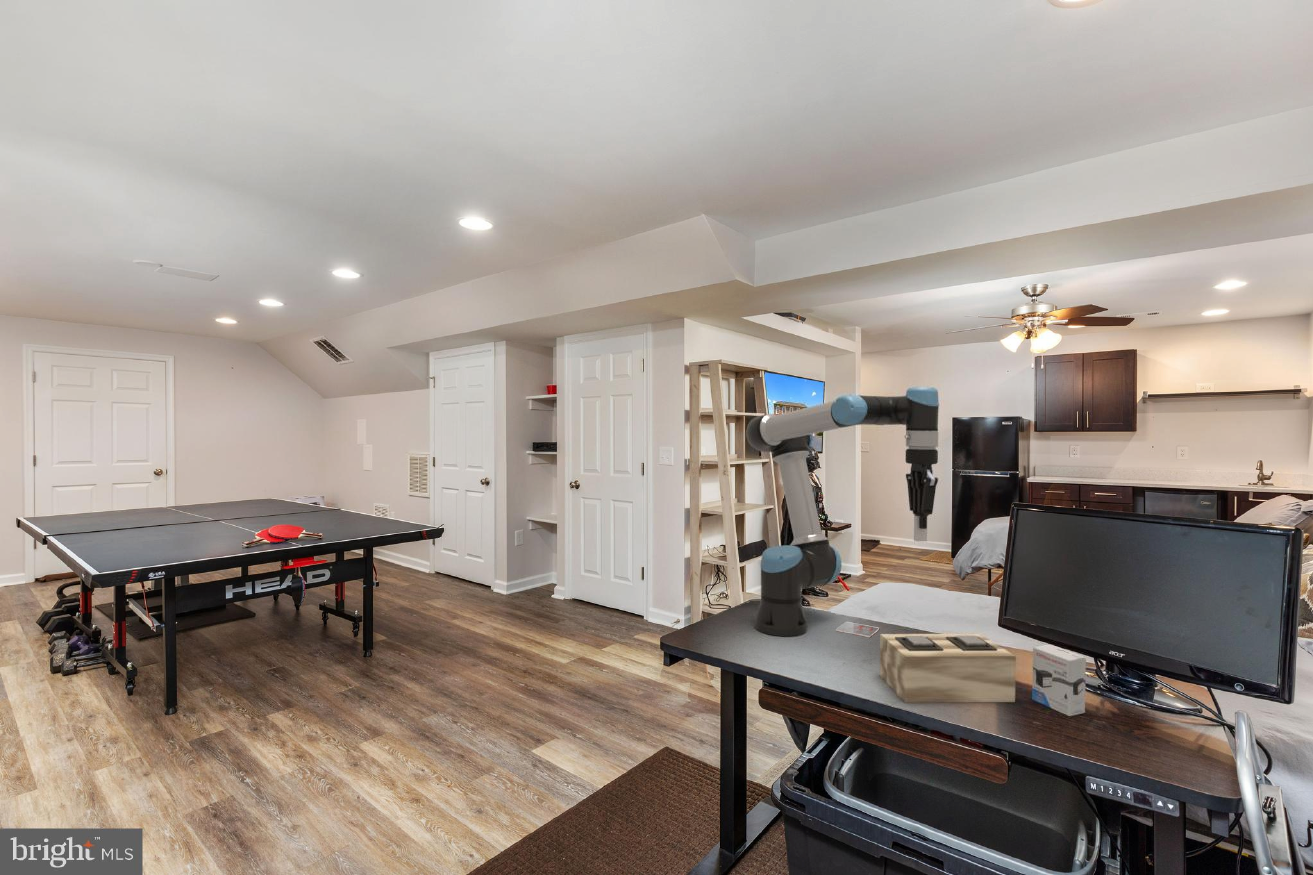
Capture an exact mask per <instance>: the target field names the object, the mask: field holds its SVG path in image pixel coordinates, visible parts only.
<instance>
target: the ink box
mask: <svg viewBox="0 0 1313 875" xmlns="http://www.w3.org/2000/svg"><path fill="white" fill-rule="evenodd" d="M1086 668H1087V658H1086V657H1084V656H1083V655H1080V654H1077V653H1075V652H1073V651H1069V650H1066V649H1063V648H1061V647H1058V646H1055V645H1053V644H1043V645H1040V646H1039V645H1037V646H1034V647H1032V685H1031V686H1032V687H1031V688H1032V692H1031V694H1032V695H1031V699H1032V701H1034V702H1037V703H1039V704H1041V705H1043V706H1045V707H1047V708H1049V709H1052V710H1054V711H1057V712H1058V713H1061V714H1063V715H1066V716H1068V717H1072V716H1077V715H1081V714H1085V713H1086V678H1087V677H1086V671H1087V669H1086Z"/></svg>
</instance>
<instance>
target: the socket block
mask: <svg viewBox="0 0 1313 875" xmlns="http://www.w3.org/2000/svg"><path fill="white" fill-rule="evenodd" d="M905 636H924V637H926V638H927V639H928V640H930V641H931V642H932V643H933V647H911V646H909V645H908V644H907V643H906V642H905ZM956 636H976V637H978V638H979V639H981V640H982V641H984V642H986V647H964V646H963V645H961V644H960V643H958V642H957V641H956ZM1016 661H1017V656H1016V655H1014V654H1013V653H1012V652H1010V651H1008V650H1007V649H1005V648H1003V647H1002V646H1000V645H999V644H997V643H995V642H994V641H993V640H991V639H989V638H987V637H986V636H984V635H982V633H880V634H879V677H881V679H882V680H883V681H884V682H885V683H886V685H888V686H889V687H890V688H891V689H892V690H893V691H894V693H896V694H897V696H898V697H899V698H900V699H901V700H902V701H903V702H904V703H906V704H907V703H908V704H909V703H913V704H914V703H915V704H916V703H1015V702H1016V671H1017V670H1016V669H1017V668H1016V664H1017V663H1016Z"/></svg>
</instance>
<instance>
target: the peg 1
mask: <svg viewBox="0 0 1313 875" xmlns="http://www.w3.org/2000/svg"><path fill="white" fill-rule="evenodd" d="M905 642H906V643H907V644H908V645H909V646H911V647H933V643H932V642H931V641H930V640H928V639H927V638H926V637H924V636H905Z"/></svg>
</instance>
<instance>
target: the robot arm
mask: <svg viewBox="0 0 1313 875" xmlns="http://www.w3.org/2000/svg"><path fill="white" fill-rule="evenodd" d="M905 391H906V392H905V395H902V396H901V395H899V396H898V395H897V396H884V395H883V396H881V395H880V396H879V395H878V396H877V395H860V394H858V395H857V394H853V393H852V394H846V395H844V394H843V395H841V396H838V397H837V398H836V399H835V400H831V401H828V402H823V403H820V404H816V405H813V406H807V407H804V408H801V409H797V410H793V411H789V412H786V413H782V414H778V415H777V414H775V413H768V414H764V415H758V416H755V417H753V418H752V419H751V420H750V421H749V423H748V424H747V427H746V430H745V435H746V439H747V442H748V443H749V444H748V445H750V446H751V447H752V448H754V450H756V451H759V452H762V453H771V456H772V461H773V462H775V463H777V464H778V467H779V472H780V476H781V477H780V478H781V482H782V486H783V492H784V496H785V501H786V504H787V505H786V506H787V511H788V515H789V516H788V517H789V521H790V524H791V525H790V526H791V530H792V534H793V540H792V542H791V543H790V544H789V545H787V544H785V545H784V544H783V545H776V546H771V547H769V548H766V549H764V551H762V554H761V562H760V601H759V602H760V603H759V605H758V608H757V611H756V614H755V617H754V628H755V629H756V630H757V631H759V632H761V633H763V634H766V635H771V636H779V637H794V636H796V637H797V636H800V635H803V634H805V633H806V632H807V631H808V620H807V617H806V613H805V611H804V608H803V603H802V590H805V589H810V588H811V589H812V588H816V587H824V586H826V585H829V584H832V583H834V582H835V581H837V579H838V577H839V576H840V575H841V574H840V573H841V571H842V558H841V555H840V553H839V551H838V550H836V548H835V547H834V546H832V545H830V541H829V538H828V537H826V536H825V535H824V534H823V533H822V532H823V531H822V528H821V524H820V518H819V515H818V509H817V505H816V501H815V496H814V490H813V486H812V482H811V477H810V473H809V469H808V463H807V458H808V455H810V450H809V448H810V447H811V446H812V444H813V443H812V441H813V440H814V434H818V433H824V432H828V431H833V430H838V429H841V428H848V427H854V426H862V425H863V426H864V425H868V426H869V425H872V426H873V425H874V426H875V425H876V426H885V425H886V426H887V425H890V426H898V425H903V426H905V433H906V434H905V435H904V439H905V446H906V449H905V463H906V464H909V465H911V466H910V473H905V480H906V484H907V494H908V504H909V511H910V512H912V514H913V541H914V542H928V516H929V515H932V514H933V512H934V511H933V510H934V506H935V505H934V504H935V503H934V502H935V495H936V489H937V485H938V483H939V479H938V478H939V477H934V476H933V466H932V465H937V464H938V462H939V461H938V460H939V459H938V458H939V450H938V449H936V448H938V447H939V428H938V427H939V426H938V425H939V407H940V404H939V402H940V401H939V391H938V389H937V388H936V387H934V386H931V387H930V386H922V387H921V386H918V387H908V388H907V389H906V390H905ZM907 447H908V448H907Z"/></svg>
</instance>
